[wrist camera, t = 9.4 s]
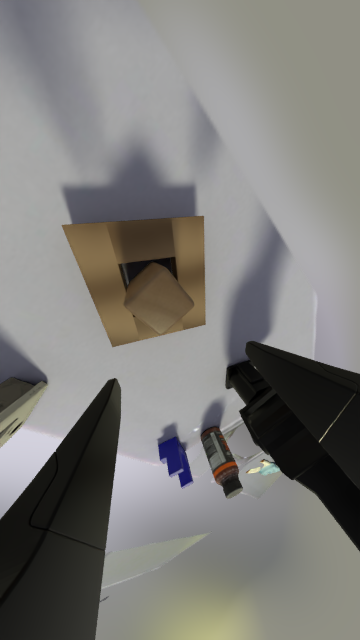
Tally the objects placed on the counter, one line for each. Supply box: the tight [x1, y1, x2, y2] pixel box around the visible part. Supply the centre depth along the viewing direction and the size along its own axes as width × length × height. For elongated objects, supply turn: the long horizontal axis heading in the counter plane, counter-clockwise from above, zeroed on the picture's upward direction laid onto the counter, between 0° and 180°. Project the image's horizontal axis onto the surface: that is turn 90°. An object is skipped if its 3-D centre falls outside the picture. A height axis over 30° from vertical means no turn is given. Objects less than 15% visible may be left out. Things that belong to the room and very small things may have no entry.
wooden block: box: [123, 261, 194, 335], centre depth 13 cm, size 4×4×8 cm
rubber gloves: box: [246, 460, 280, 475], centre depth 72 cm, size 27×33×6 cm
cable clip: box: [158, 437, 193, 489], centre depth 34 cm, size 12×4×6 cm, turn 15°
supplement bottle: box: [201, 427, 243, 499], centre depth 33 cm, size 6×6×11 cm
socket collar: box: [62, 216, 206, 347], centre depth 16 cm, size 12×12×2 cm
